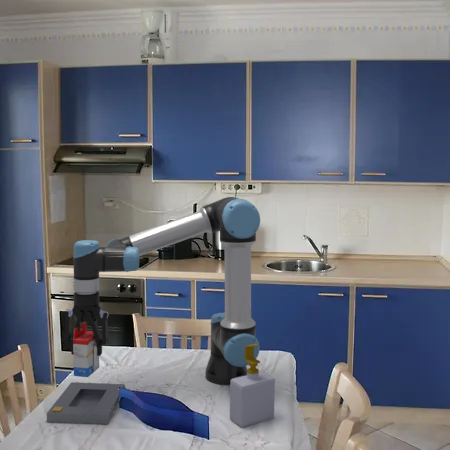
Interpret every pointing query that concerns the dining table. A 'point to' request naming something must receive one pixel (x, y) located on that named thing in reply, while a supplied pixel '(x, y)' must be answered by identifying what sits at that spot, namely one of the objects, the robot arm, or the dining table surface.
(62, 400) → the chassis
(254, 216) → the robot arm
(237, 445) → the dining table surface
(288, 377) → the dining table surface
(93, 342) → the ink box
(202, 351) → the dining table surface
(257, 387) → the soap bottle
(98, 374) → the dining table surface
